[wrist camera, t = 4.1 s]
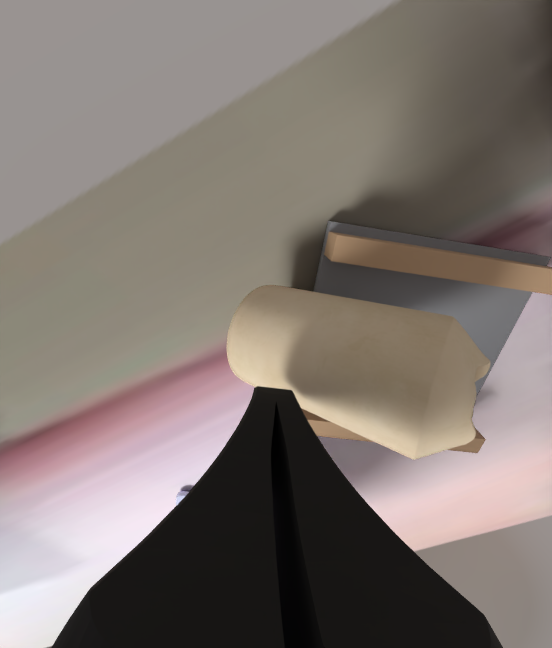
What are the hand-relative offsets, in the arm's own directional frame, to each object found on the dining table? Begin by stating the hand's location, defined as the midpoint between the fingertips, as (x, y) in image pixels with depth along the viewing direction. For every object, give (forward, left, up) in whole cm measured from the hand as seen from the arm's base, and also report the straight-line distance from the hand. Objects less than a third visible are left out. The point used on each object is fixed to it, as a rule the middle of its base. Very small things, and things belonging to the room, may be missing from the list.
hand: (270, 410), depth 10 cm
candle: (0, +1, -6) cm, 6 cm away
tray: (0, -8, -8) cm, 12 cm away
